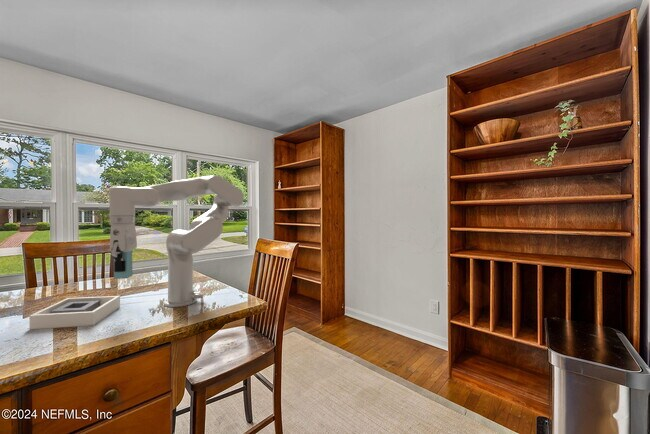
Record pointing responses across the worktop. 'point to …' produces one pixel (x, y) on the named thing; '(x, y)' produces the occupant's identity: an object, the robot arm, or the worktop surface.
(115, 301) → the walled box
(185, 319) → the worktop surface
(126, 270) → the peg
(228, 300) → the worktop surface
